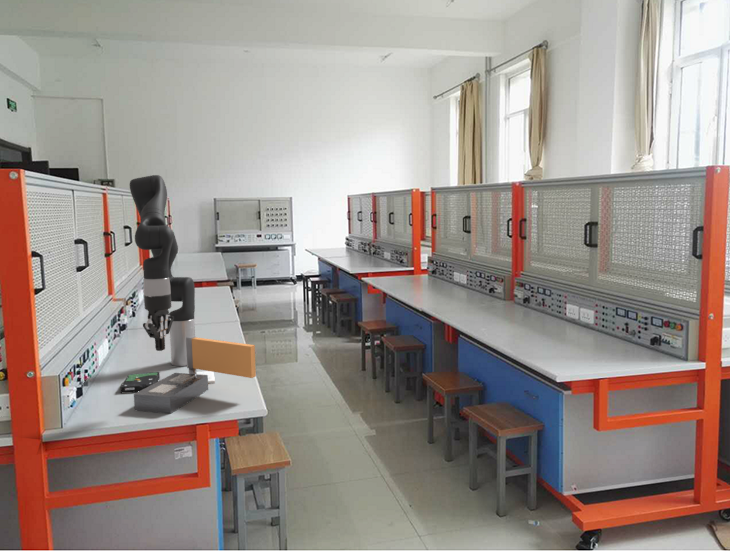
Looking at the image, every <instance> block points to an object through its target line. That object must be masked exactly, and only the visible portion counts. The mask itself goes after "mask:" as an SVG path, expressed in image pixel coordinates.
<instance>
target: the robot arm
mask: <svg viewBox="0 0 730 551" xmlns="http://www.w3.org/2000/svg"><path fill="white" fill-rule="evenodd" d="M129 189H130V194H131V198H132V200H133V202H134V204H135V207H136V210H137V211H138V215H139V217H140V222H139V225H138V226H137V228H136V231H135V234H134V242H135V245H136V246H137V248H139V249H140V250H143V251H148V250H149V251H150V252H151V254H152V257H147V258H146V259H144V260H143V262H142V266H143V267H142V268H143V269H142V270H143V301H144V302H143V303H144V304H143V305H144V309H145V310H146V311H147V321H146V322H143V323H142V327H143V329H144V330H145V332H146V333H147V335H148V336H149V338H150V339H151V338H153V339H154V343H155V344H154V346H155V351H157V352H158V351H159V352H162V351H165V349H166V337H167V335H169V338H170V339H169V340H170V342H169V343H170V359H171V363H170V364H171V365H172V366H174V367H185V366H187V350H186V337H197V335H196V326H195V325H196V323H195V322H196V321H195V311H196V309H195V308H196V307H195V306H196V305H195V304H196V302H195V301H196V299H195V296H196V295H195V293H196V288H195V281H194V280H193V278H192V277H190V276H189V277H187V276H177V277H176V276H175V277H174V276H173V274H172V266H173V263H174V262H175V259H176V257H177V254H178V252H179V245H178V242H177V239H176V234H175V233H174V230H173V229H172V228H171V227H170V226H169V225H168V224H167V223H166V216H165V210H166V206H167V201H168V191H167V190H168V189H167V186H166V182H165V180H164V178H163V177H162V176H160V175H159V174H155V175H154V174H153V175H146V176H141V177H136V178H133V179H131V180H130V181H129ZM172 302H182V304H181V307H179V308H178V309H174V310H171V311H169V309H171V308H172Z"/></svg>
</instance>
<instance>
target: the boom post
mask: <svg viewBox="0 0 730 551" xmlns="http://www.w3.org/2000/svg"><path fill="white" fill-rule="evenodd" d="M196 372H197V369H194V368H192V369H190V368H188V374H197V373H196Z"/></svg>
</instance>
